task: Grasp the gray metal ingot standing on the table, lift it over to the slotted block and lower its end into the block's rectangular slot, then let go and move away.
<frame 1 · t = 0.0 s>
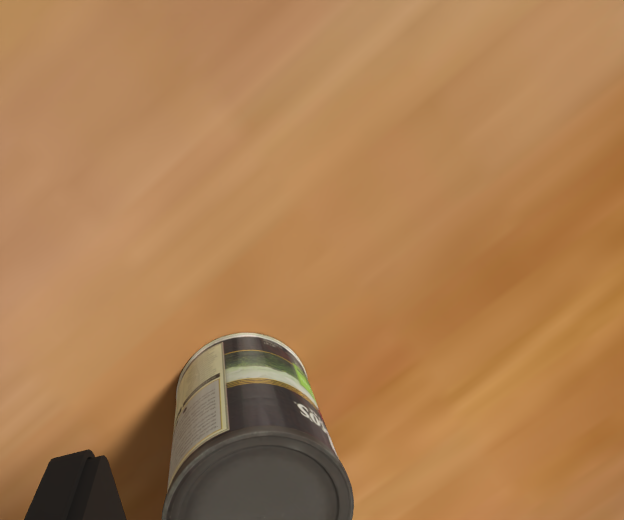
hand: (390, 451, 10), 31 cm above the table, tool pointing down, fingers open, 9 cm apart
coffee can: (242, 391, 43), on the table
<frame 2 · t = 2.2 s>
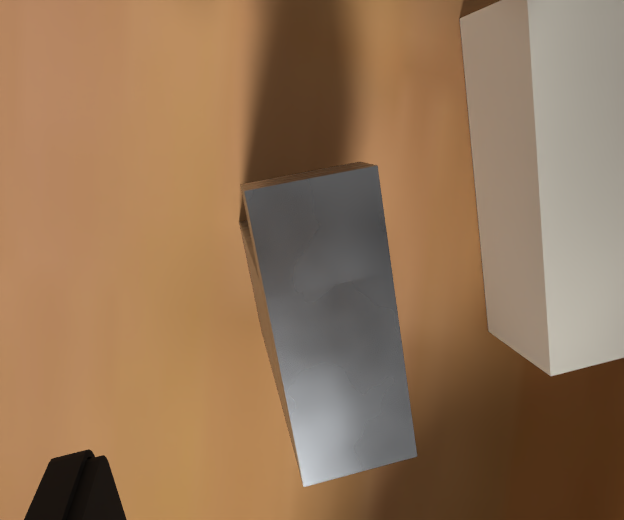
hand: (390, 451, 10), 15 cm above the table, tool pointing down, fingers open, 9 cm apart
slotted block: (616, 157, 26), on the table
gray metal ingot: (284, 271, 24), on the table
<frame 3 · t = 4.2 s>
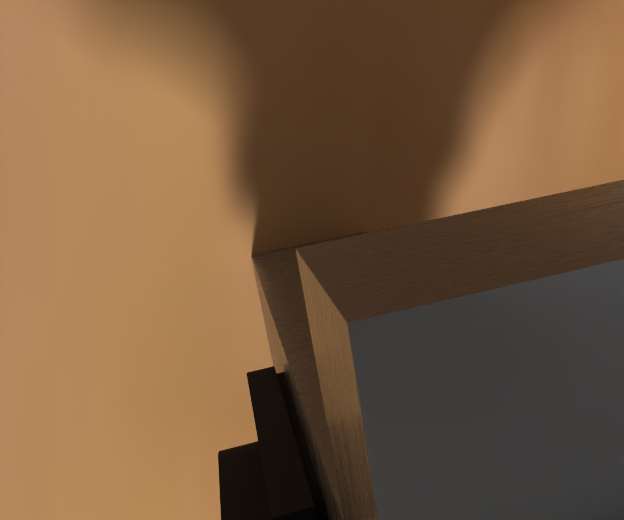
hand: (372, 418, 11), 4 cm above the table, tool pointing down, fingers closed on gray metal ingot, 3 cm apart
gray metal ingot: (325, 334, 15), on the table, touching gripper
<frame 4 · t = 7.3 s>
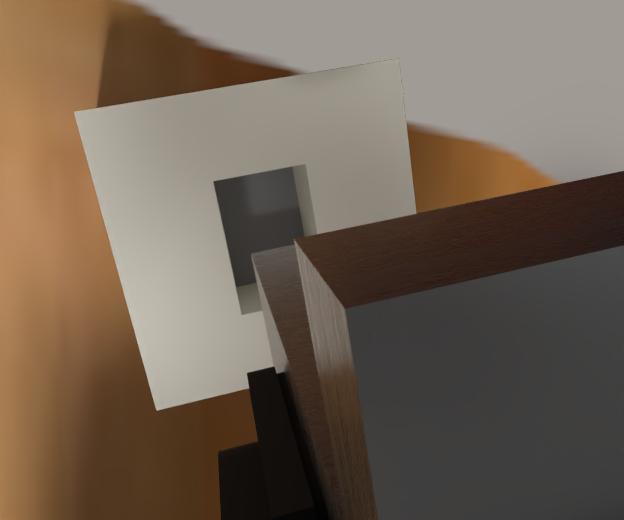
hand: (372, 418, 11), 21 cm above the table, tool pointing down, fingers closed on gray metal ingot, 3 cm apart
slotted block: (261, 221, 30), on the table
gray metal ingot: (325, 331, 15), point 16 cm above the table, touching gripper
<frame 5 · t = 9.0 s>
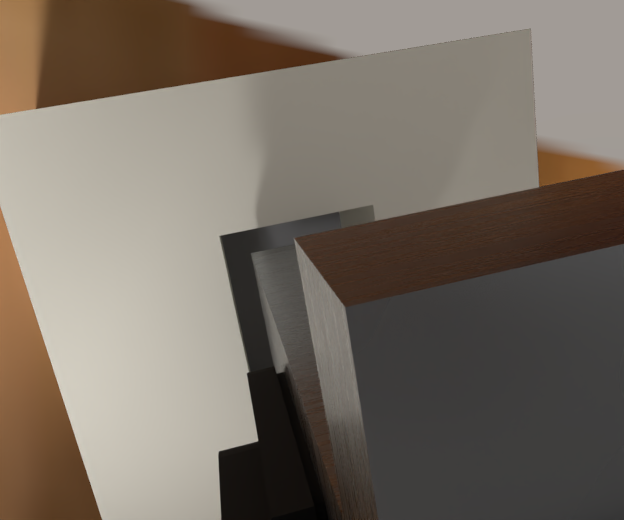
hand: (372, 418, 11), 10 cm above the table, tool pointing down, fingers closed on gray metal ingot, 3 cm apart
slotted block: (290, 281, 20), on the table
gray metal ingot: (325, 331, 15), point 6 cm above the table, touching gripper
when the fingers open (6 cm above the table, at t = 10.5 s): gray metal ingot drops 1 cm, resting on slotted block.
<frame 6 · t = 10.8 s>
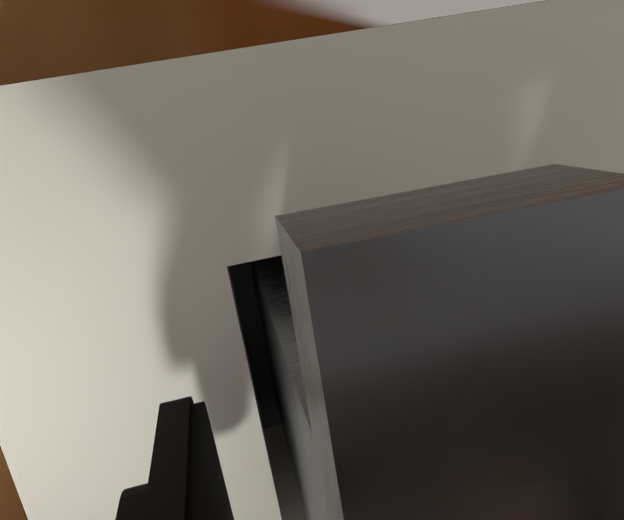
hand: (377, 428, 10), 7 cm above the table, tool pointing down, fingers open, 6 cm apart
slotted block: (311, 309, 16), on the table
gray metal ingot: (313, 317, 16), resting on slotted block
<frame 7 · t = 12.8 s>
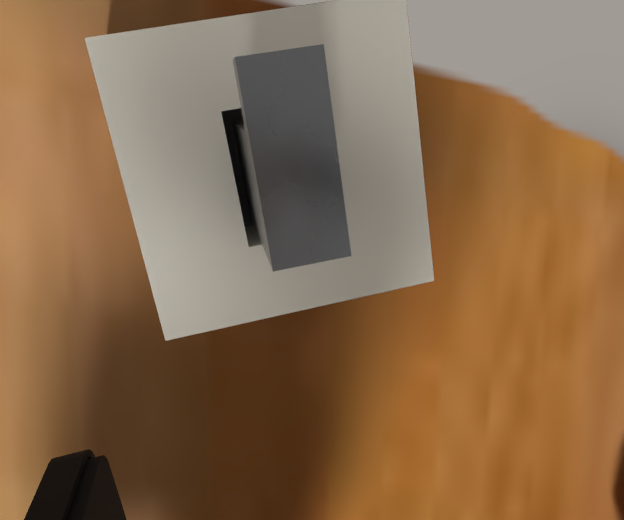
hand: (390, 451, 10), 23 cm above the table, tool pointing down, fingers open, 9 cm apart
slotted block: (268, 162, 31), on the table
gray metal ingot: (268, 164, 30), resting on slotted block
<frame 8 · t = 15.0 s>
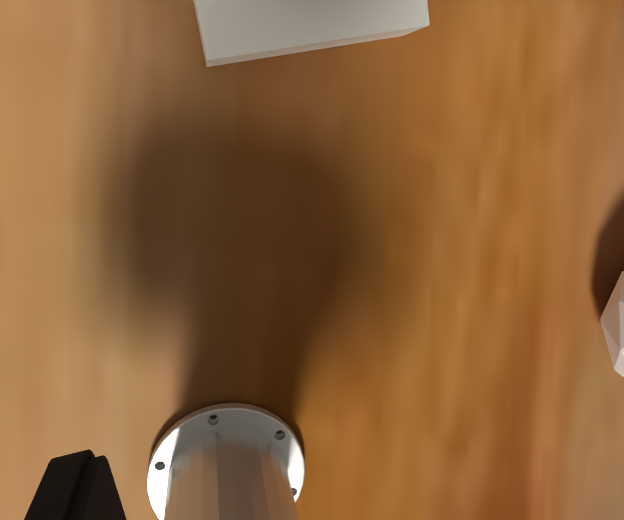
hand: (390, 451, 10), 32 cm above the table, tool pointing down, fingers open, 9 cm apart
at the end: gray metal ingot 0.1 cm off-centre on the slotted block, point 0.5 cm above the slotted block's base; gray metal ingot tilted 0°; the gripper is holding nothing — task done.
